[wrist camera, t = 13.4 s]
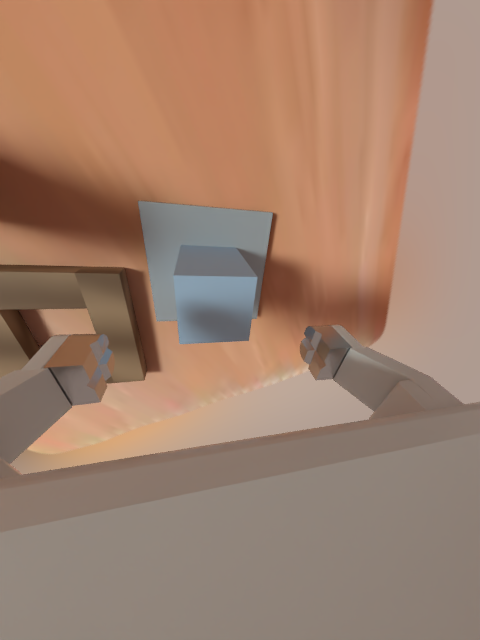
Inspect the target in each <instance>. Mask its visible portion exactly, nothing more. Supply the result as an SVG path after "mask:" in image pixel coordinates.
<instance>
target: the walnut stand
mask: <svg viewBox="0 0 480 640" xmlns="http://www.w3.org/2000/svg"><path fill="white" fill-rule="evenodd" d="M80 308H87V309H88V312H89V315H90V318H91V321H92V323H93V326H94V329H95V332H96V334H105V335H106V336H107V338H108V340H109V344H108V346H107V348H108V349H110V350H111V351H112V352H113V355H114V360H115V364H114V371H113V373H112V376H111V377H110V378H108V379H107V380H106V381H105V382H106V384H107V383H119V382H131V381H143V380H145V376H146V373H147V367H146V363H145V358H144V354H143V349H142V345H141V340H140V336H139V331H138V327H137V322H136V317H135V313H134V308H133V304H132V299H131V295H130V290H129V286H128V281H127V277H126V272H125V268H117V267H75V266H34V265H0V378H1V377H3V376H5V375H7V374H9V373H11V372H13V371H14V370H21V369H22V368H23V367H24V366H25V365H26V364H27V363H28V362H29V361H30V359H31V358H32V357H33V356H34V355H35V354H36V353H37V352H38V351H39V350H40V348H39V346H38V345H37V343H36V341H35V339H34V338H33V336H32V334H31V332H30V331H29V329H28V327H27V325H26V324H25V322H24V320H23V318H22V317H21V315H20V313H19V311H18V310H17V309H80Z"/></svg>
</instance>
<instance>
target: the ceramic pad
mask: <svg viewBox="0 0 480 640" xmlns="http://www.w3.org/2000/svg"><path fill="white" fill-rule="evenodd" d="M138 205H139V211H140V218H141V224H142V230H143V237H144V243H145V250H146V256H147V262H148V269H149V275H150V281H151V288H152V294H153V301H154V307H155V313H156V320H157V321H177V311H176V300H175V289H174V278H173V275H174V271H175V267H176V263H177V259H178V255H179V251H180V247H181V245H192V246H213V247H233V248H237V250H238V251H239V252H240V254H241V255H242V256H243V258H244V259H245V261H246V262H247V263H248V265H249V266H250V267H251V269H252V270H253V271H254V273H255V274H256V276H257V284H256V292H255V299H254V306H253V313H252V319H257V313H258V307H259V300H260V294H261V287H262V281H263V274H264V268H265V261H266V255H267V248H268V242H269V235H270V229H271V222H272V216H273V213H272V212H264V211H253V210H242V209H230V208H219V207H207V206H196V205H185V204H173V203H162V202H151V201H138Z"/></svg>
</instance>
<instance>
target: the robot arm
mask: <svg viewBox="0 0 480 640" xmlns="http://www.w3.org/2000/svg"><path fill="white" fill-rule="evenodd" d="M304 334H305V337H306V338H304V339H303V340H302V341H301V345H300V354H301V357H302V359H303V360H304V361H305V362H306V363H308V364H309V368H308V369H309V370H310V372H311V373H312V375H313V377H314V378H315V380H326V379H333V380H334V381H335V382H337V383H338V384H339V385H340V386H342V387H343V388H344V389H346V390H347V391H348V392H350V393H351V394H352V395H353V396H355V397H356V398H357V399H359V400H360V401H361V402H362V403H364V404H365V405H366V406H368V407H369V408H370V409H372V410H373V411H374V413H373V414H372V415H371V417H370V418H369V420H364V421H358V422H351V423H344V424H338V425H332V426H326V427H319V428H313V429H307V430H300V431H294V432H288V433H282V434H276V435H269V436H263V437H256V438H250V439H244V440H237V441H231V442H225V443H219V444H213V445H206V446H200V447H194V448H187V449H181V450H175V451H169V452H162V453H156V454H150V455H144V456H137V457H131V458H125V459H119V460H112V461H106V462H99V463H93V464H87V465H81V466H75V467H68V468H62V469H55V470H49V471H43V472H37V473H30V474H24V475H22V474H21V473H20V472H19V471H18V470H16V469H15V468H14V467H12V466H11V465H10V463H12V462H13V461H14V460H15V459H16V458H17V457H18V456H19V455H20V454H21V453H22V452H24V451H25V450H26V449H27V448H28V447H29V446H30V445H31V444H32V443H33V442H34V441H36V440H37V439H38V438H39V437H40V436H41V435H42V434H43V433H44V432H45V431H47V430H48V429H49V428H50V427H51V426H52V425H53V424H54V423H55V422H56V421H57V420H59V419H60V418H61V417H62V416H63V415H64V414H65V413H66V412H67V411H68V410H69V409H71V408H72V406H74V405H82V404H90V403H98V402H101V400H102V397H103V395H104V393H105V390H106V388H107V384H106V382H105V381H106V380H107V379H108V378H110V377H111V376H112V373H113V371H114V364H115V360H114V355H113V352H112V351H111V350H110V349H108V348H107V346H108V344H109V340H108V338H107V336H106V335H105V334H73V335H55V336H52V337H51V338H50V339H49V340H48V341H47V342H46V343H45V344H44V345H43V346H42V347H41V349H40V350H39V351H38V352H37V353H36V354H35V355H34V356H33V357H32V358H31V359H30V361H29V362H28V363H27V364H26V365H25V366H24V367H23V368H22V369H21V370H14V371H13V372H11V373H9V374H7V375H5V376H3V377H1V378H0V640H480V402H476V403H470V404H463V403H462V402H460V401H459V400H458V399H457V398H456V397H454V396H453V395H452V394H451V393H449V392H448V391H447V390H446V389H445V388H444V387H442V386H441V385H440V384H439V383H437V382H436V381H435V380H434V379H433V378H431V377H430V376H428V375H426V374H423V373H421V372H419V371H417V370H415V369H413V368H411V367H408V366H406V365H404V364H402V363H400V362H398V361H396V360H394V359H392V358H389V357H387V356H385V355H383V354H381V353H379V352H376V351H374V350H372V349H370V348H368V347H363V346H362V345H361V344H360V343H359V342H358V341H357V340H356V339H355V338H354V337H353V336H352V335H351V334H350V333H349V332H348V331H347V330H346V329H345V328H343V327H342V326H341V325H328V326H308V327H307V328H306V330H305V333H304Z"/></svg>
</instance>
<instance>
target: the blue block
mask: <svg viewBox="0 0 480 640" xmlns="http://www.w3.org/2000/svg"><path fill="white" fill-rule="evenodd" d="M173 278H174V289H175V300H176V311H177V322H178V332H179V343H180V344H192V343H212V342H232V341H249V335H250V328H251V320H252V313H253V306H254V299H255V292H256V284H257V276H256V274H255V273H254V271H253V270H252V269H251V267H250V266H249V265H248V263H247V262H246V261H245V259H244V258H243V256H242V255H241V254H240V252H239V251H238V250H237V248H233V247H213V246H192V245H181V247H180V251H179V255H178V259H177V263H176V267H175V271H174V275H173Z"/></svg>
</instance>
